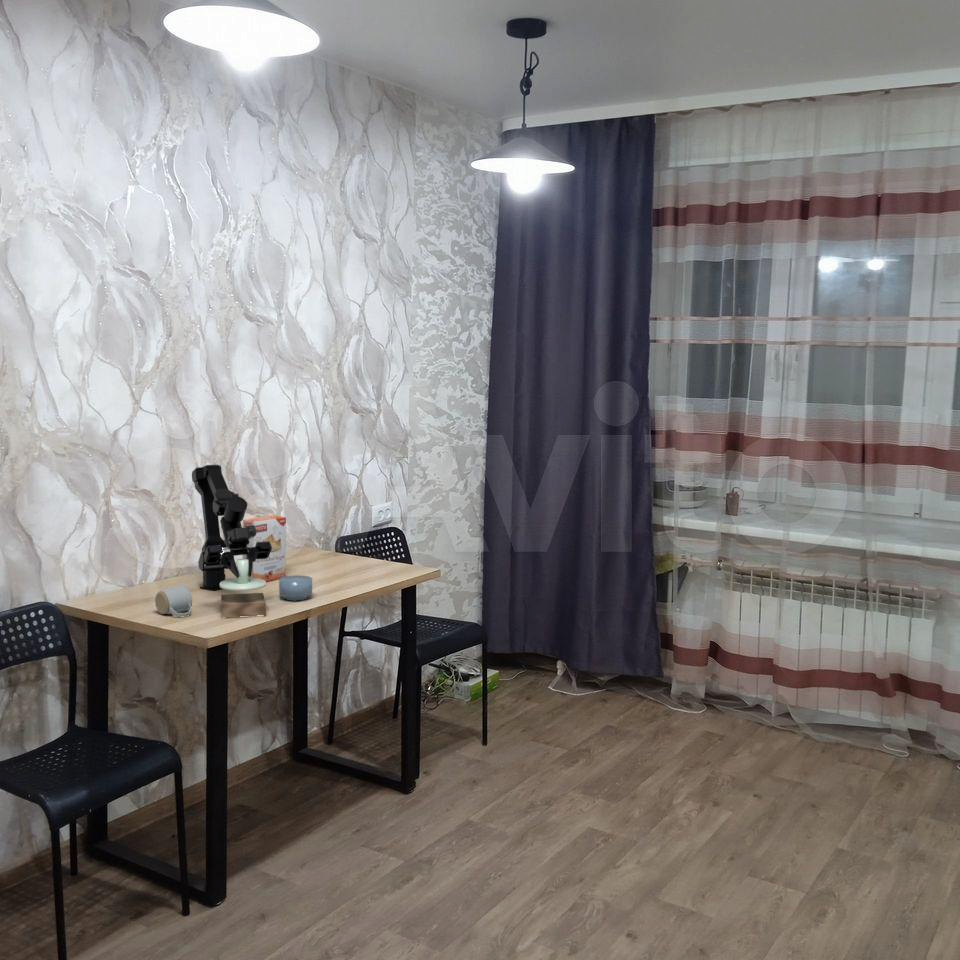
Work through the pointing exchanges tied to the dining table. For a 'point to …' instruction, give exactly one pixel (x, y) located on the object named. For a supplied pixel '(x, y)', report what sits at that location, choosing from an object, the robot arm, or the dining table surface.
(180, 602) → the ceramic mug
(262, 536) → the cracker box
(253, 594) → the walnut stand
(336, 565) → the dining table surface
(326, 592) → the dining table surface
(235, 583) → the lid
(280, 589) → the glazed bowl
